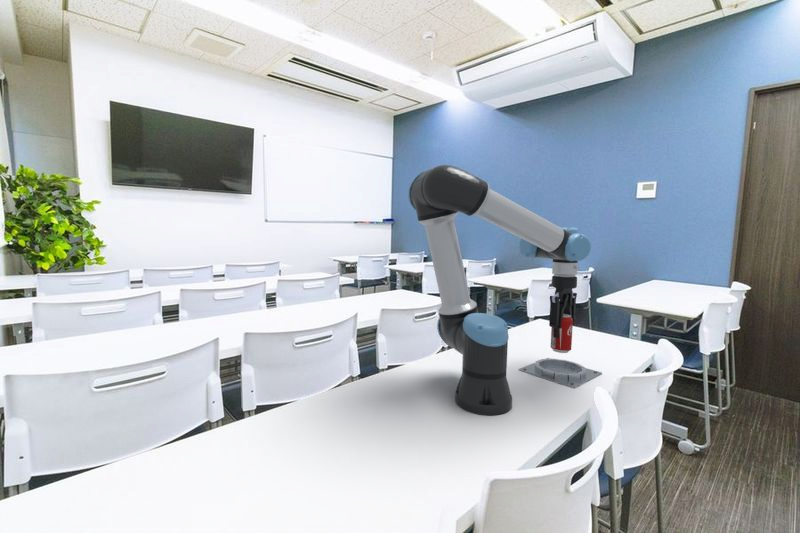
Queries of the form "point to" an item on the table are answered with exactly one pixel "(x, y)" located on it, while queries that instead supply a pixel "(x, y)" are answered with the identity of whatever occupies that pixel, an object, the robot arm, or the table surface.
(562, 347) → the beverage can
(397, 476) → the table surface
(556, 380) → the duct flange
